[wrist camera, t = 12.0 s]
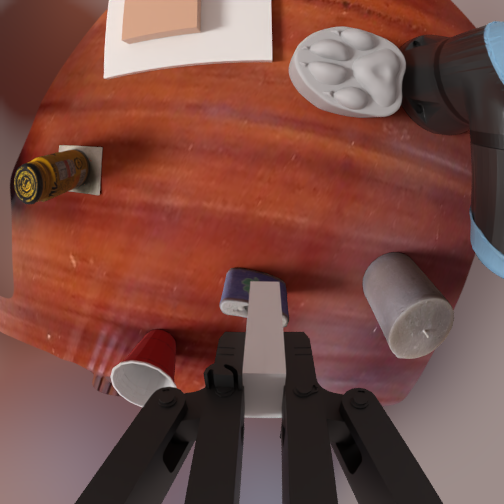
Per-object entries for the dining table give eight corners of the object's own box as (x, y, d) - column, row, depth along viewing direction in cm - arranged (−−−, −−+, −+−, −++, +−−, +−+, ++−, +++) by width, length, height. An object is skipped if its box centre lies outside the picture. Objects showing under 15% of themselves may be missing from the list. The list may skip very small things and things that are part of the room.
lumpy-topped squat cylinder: (377, 124, 36) (404, 125, 28) (283, 103, 36) (289, 97, 28) (386, 56, 32) (413, 42, 24) (293, 32, 31) (301, 10, 23)
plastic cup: (202, 353, 52) (190, 403, 41) (158, 368, 54) (141, 414, 43) (167, 308, 48) (144, 356, 37) (123, 327, 51) (97, 372, 40)
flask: (224, 279, 46) (215, 321, 36) (230, 262, 45) (221, 301, 35) (282, 295, 47) (287, 340, 37) (289, 279, 45) (295, 322, 36)
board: (269, -38, 26) (269, -42, 25) (272, 62, 33) (272, 60, 32) (114, -16, 27) (111, -19, 26) (107, 79, 34) (103, 78, 33)
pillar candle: (425, 264, 44) (471, 314, 30) (395, 312, 47) (428, 371, 33) (380, 242, 43) (422, 292, 29) (350, 295, 46) (376, 358, 32)
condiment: (60, 145, 38) (8, 157, 27) (103, 147, 38) (54, 158, 27) (58, 189, 41) (10, 211, 30) (100, 194, 41) (55, 219, 30)
